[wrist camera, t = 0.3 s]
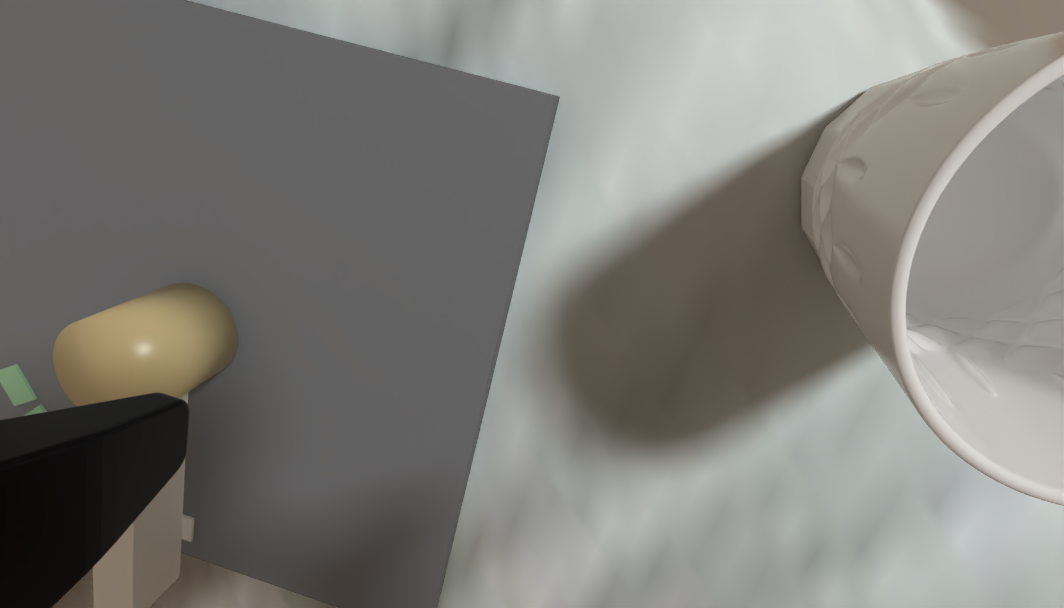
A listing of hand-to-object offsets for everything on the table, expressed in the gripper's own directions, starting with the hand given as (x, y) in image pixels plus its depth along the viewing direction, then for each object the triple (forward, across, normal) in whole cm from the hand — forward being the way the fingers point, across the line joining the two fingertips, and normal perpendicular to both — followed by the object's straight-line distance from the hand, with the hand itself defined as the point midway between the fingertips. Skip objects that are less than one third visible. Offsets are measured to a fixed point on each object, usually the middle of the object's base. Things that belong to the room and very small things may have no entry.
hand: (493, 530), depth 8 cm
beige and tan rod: (+13, +13, +10) cm, 21 cm away
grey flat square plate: (+14, +13, +6) cm, 20 cm away
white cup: (+14, -9, -5) cm, 17 cm away
